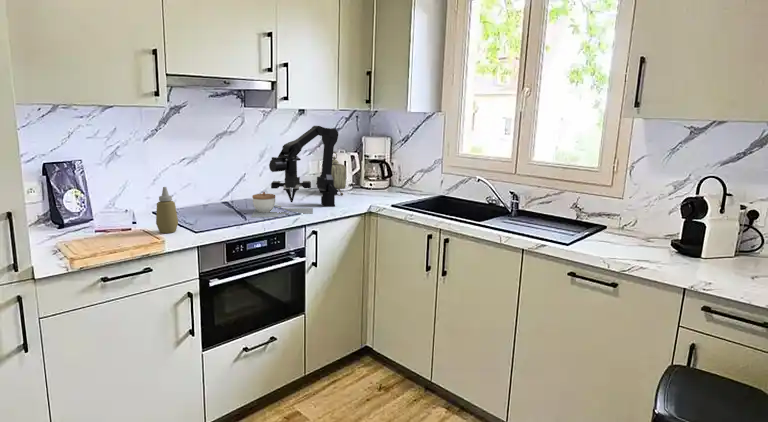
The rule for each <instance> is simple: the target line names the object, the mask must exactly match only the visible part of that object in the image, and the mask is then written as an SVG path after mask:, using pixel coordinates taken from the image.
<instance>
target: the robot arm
mask: <svg viewBox="0 0 768 422" xmlns="http://www.w3.org/2000/svg"><path fill="white" fill-rule="evenodd" d="M317 136H321V141H322V144H323V152H322V153H323V155H322V167H321V173H320V175H319V176H317V177H316V187H317V189H318V192H319V194H321V195H322V196H321V197H320V198H321V199H320V205H321V207H335V206H336V202H335V201H336V199H335V196H336V195H338V192H339V190H338V189H336V188H335V186H334V180H333V178H332V175H331V172H332V161H333V157H334V153H333V152H334V148H335V145H336V144H337V142H338V138H339V131H338V130H337V129H336V128H332V127H325V126H320V125H313V126H312V127H311V128H310V129H308V130H307V131H306V132H305V133H303V134H302V135H300V136H299V137H298V138H296V139H295V140H291V141H289V142H287V143H285V144H284V145H282V149H281V150H280V153H279V154H278V156H277V157H276V156H272V157H271V159H270V161H269V164H268V166H269V170H270V171H271V172H272V173H277V172H284V182H281V181H280V180H276V181H275V180H273V181H272V182H271V184H270V189H271V190H272V189H274V190H275V189H279V187H281V188H283V191H286V194H287V196H288V199H289V201H290V203H294V199H295V195H296V193H297V191H299V190H300V187H302V188H304V189H311V188H312V182H311V180H302V182H300V181H301V180H300V179H301V178H300V176H298V162H297V161H301V160H302V159H301V158H300V157H299V156H298V155H299V154H300V152H302V149H303V147H305V146H306V145H307V144H308V143H309V142H311V141H312V140H314V139H315V138H316V137H317ZM291 188H292V191H291Z"/></svg>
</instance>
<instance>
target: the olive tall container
mask: <svg viewBox="0 0 768 422" xmlns="http://www.w3.org/2000/svg"><path fill="white" fill-rule="evenodd" d="M333 154H335V156H333V161H332V172H331V175H332V178H333V180H334V186H335V188H336V189H337V190H338V192H339V193H340V195H341V196H343V195H344V192H342V191H341V190H342V189H343V190H344V189H346V186H347V170H346V169H347V168H346V166H345V165H344V164H342V163H339V161H338V160H337V159H338V158H337V157H338V154H337V152H335V151H333Z"/></svg>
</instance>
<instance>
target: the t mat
mask: <svg viewBox="0 0 768 422" xmlns="http://www.w3.org/2000/svg"><path fill="white" fill-rule="evenodd" d="M274 206H275V207H278V208H282V206H281V205H274ZM282 209H285V210H288V211H292V212H298V213H303V214H302V215H313V214H314V208H313V207H312V208H311V207H307V208H306V207H299V208H298V207H297V208H295V207H293V208H291V207H290V208H284V207H283V208H282ZM279 215H290V214H289V213H286V212H285V213H284V212H281V213H280V212H279V213H277V212H258V210H256V208H254V210H253V212H252V214H251V216H250V218H278V217H279Z"/></svg>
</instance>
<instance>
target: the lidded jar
mask: <svg viewBox="0 0 768 422" xmlns="http://www.w3.org/2000/svg"><path fill="white" fill-rule="evenodd" d="M252 202H253V207H254V209H256V210H258V212H270V211H271V210H272V209H273V207H274V206H276V205H275V204H276V194H274V193H266V191H262V193H256V194H253V195H252Z"/></svg>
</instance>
